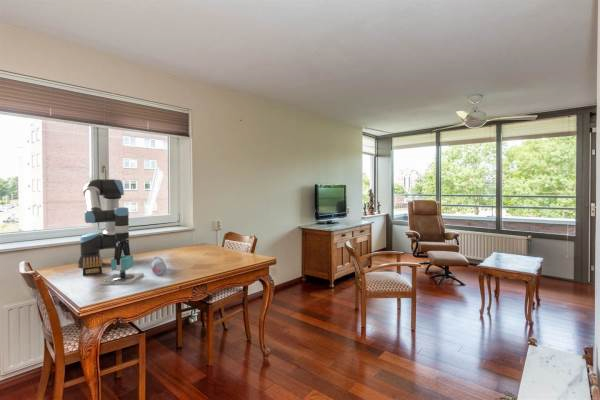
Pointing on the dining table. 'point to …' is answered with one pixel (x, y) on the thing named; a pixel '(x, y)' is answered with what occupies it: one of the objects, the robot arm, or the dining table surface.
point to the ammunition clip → (94, 270)
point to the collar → (123, 262)
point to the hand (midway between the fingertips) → (122, 267)
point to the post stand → (122, 278)
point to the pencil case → (158, 266)
